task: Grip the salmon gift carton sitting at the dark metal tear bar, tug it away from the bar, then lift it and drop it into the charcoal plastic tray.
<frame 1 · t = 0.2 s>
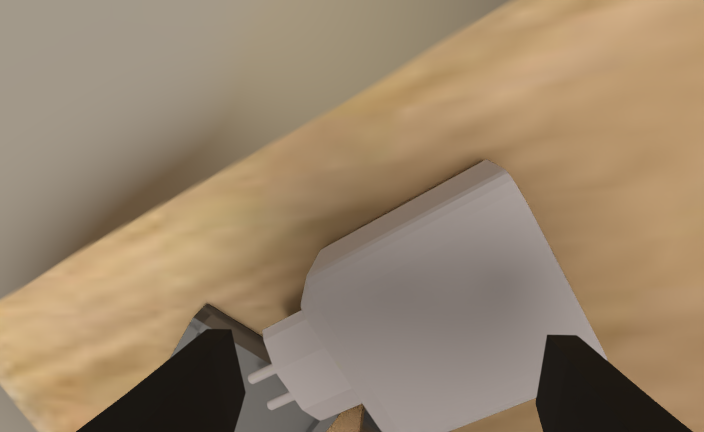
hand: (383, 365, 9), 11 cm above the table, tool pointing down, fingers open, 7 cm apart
charger: (390, 304, 21), on the table, touching tray
tray: (237, 407, 23), on the table
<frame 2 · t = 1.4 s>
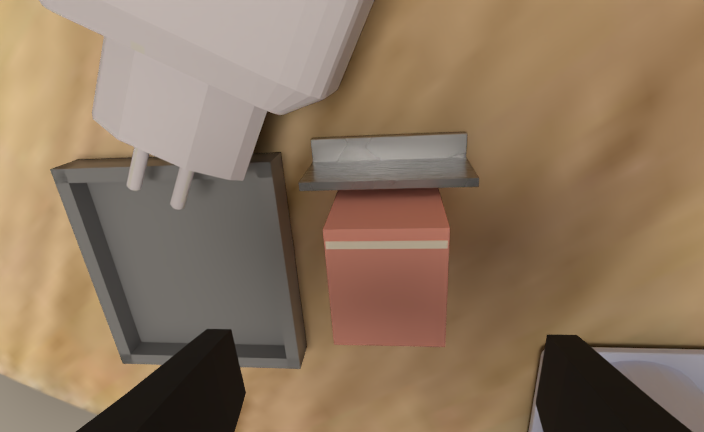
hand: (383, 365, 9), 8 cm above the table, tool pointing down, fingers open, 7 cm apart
tear bar: (388, 160, 16), on the table
salmon gift carton: (389, 218, 17), on the table
tray: (201, 260, 19), on the table
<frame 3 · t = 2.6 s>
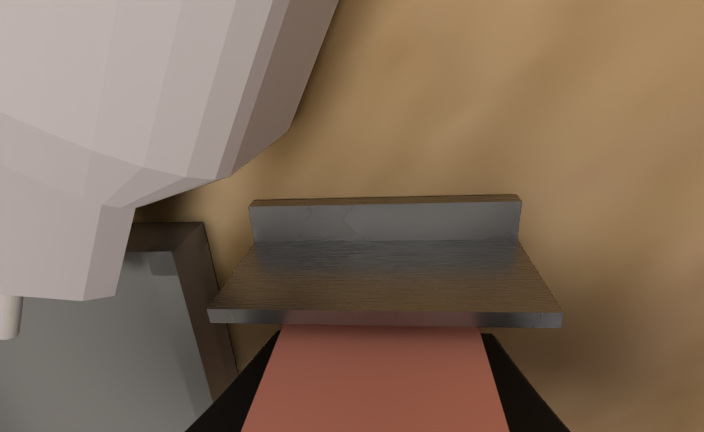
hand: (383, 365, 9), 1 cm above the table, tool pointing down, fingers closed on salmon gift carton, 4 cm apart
tear bar: (381, 238, 9), on the table
salmon gift carton: (384, 325, 10), on the table, touching gripper
tray: (97, 373, 12), on the table
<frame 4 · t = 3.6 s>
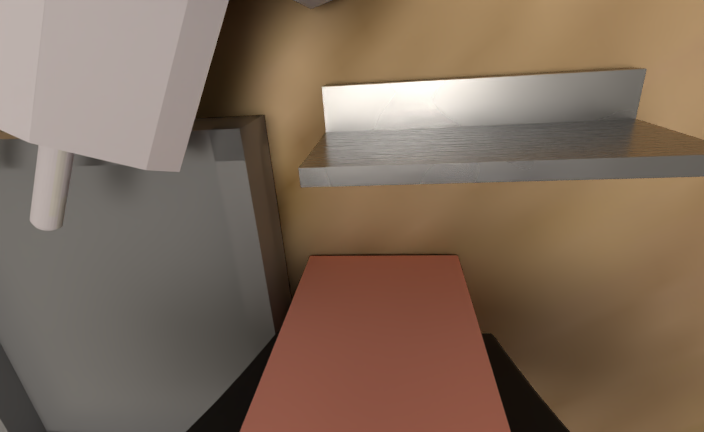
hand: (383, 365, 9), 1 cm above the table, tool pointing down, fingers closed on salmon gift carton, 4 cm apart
tear bar: (470, 129, 8), on the table
salmon gift carton: (384, 325, 10), on the table, touching gripper
tray: (133, 306, 11), on the table
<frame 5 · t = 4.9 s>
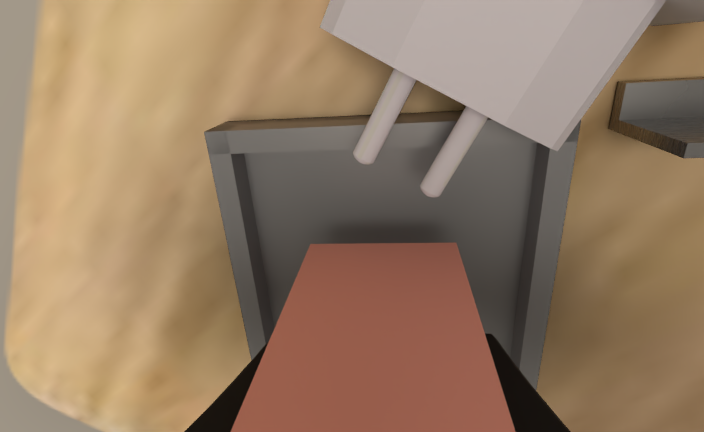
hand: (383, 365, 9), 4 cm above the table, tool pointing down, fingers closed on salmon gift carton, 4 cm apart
salmon gift carton: (384, 313, 11), point 3 cm above the table, touching gripper
tray: (388, 271, 13), on the table
when the fingers open (3 cm above the table, at t = 5.3 s): salmon gift carton drops 1 cm, resting on tray.
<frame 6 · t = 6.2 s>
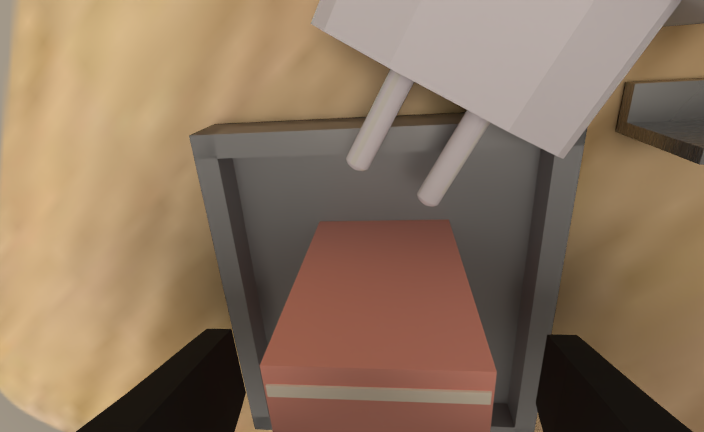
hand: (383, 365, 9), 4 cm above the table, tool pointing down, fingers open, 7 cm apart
salmon gift carton: (385, 284, 12), point 1 cm above the table, touching tray
tray: (384, 280, 12), on the table
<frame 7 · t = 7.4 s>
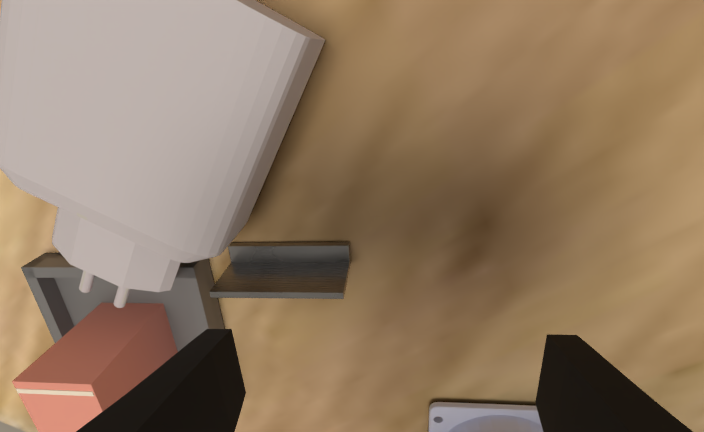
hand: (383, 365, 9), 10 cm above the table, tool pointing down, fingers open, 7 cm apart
tear bar: (291, 260, 20), on the table
salmon gift carton: (142, 334, 22), point 1 cm above the table, touching tray
charger: (172, 148, 18), on the table, touching tray
tray: (149, 330, 23), on the table
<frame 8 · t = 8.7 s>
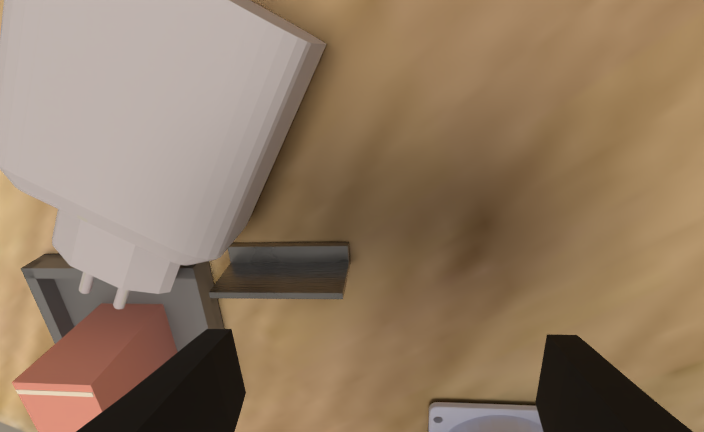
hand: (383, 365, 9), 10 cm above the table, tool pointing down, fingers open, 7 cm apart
tear bar: (291, 261, 20), on the table
salmon gift carton: (142, 334, 22), point 1 cm above the table, touching tray
charger: (173, 150, 18), on the table, touching tray
tray: (149, 331, 23), on the table
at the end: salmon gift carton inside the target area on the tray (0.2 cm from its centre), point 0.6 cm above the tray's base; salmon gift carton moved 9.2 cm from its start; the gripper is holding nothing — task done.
